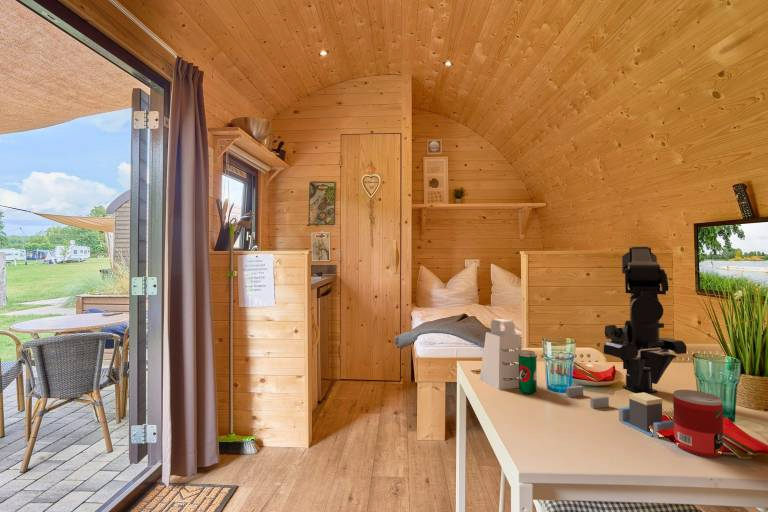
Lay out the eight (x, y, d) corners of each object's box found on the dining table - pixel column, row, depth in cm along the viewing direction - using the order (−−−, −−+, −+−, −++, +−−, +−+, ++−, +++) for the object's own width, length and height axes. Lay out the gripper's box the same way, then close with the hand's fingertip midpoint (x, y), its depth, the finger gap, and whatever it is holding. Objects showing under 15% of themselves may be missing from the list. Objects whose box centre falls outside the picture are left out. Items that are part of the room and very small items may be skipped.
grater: (506, 376, 132) (506, 317, 133) (527, 386, 123) (526, 321, 123) (479, 379, 129) (479, 318, 129) (498, 389, 119) (498, 323, 119)
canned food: (727, 462, 76) (726, 404, 76) (675, 451, 80) (675, 397, 80) (719, 446, 83) (718, 393, 83) (672, 437, 87) (671, 387, 87)
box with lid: (644, 421, 95) (644, 392, 95) (662, 429, 90) (662, 398, 90) (629, 423, 93) (628, 394, 94) (646, 431, 89) (646, 400, 89)
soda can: (538, 395, 114) (537, 353, 114) (520, 394, 115) (519, 353, 115) (535, 389, 119) (534, 350, 119) (517, 388, 120) (517, 349, 120)
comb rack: (582, 394, 115) (581, 383, 115) (676, 435, 88) (676, 421, 88) (564, 396, 113) (564, 385, 113) (655, 438, 86) (655, 424, 86)
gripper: (644, 311, 102) (645, 372, 102) (585, 314, 97) (585, 378, 97) (687, 317, 92) (688, 385, 91) (623, 321, 87) (624, 392, 86)
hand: (645, 384), depth 92 cm, fingers open, 5 cm apart
